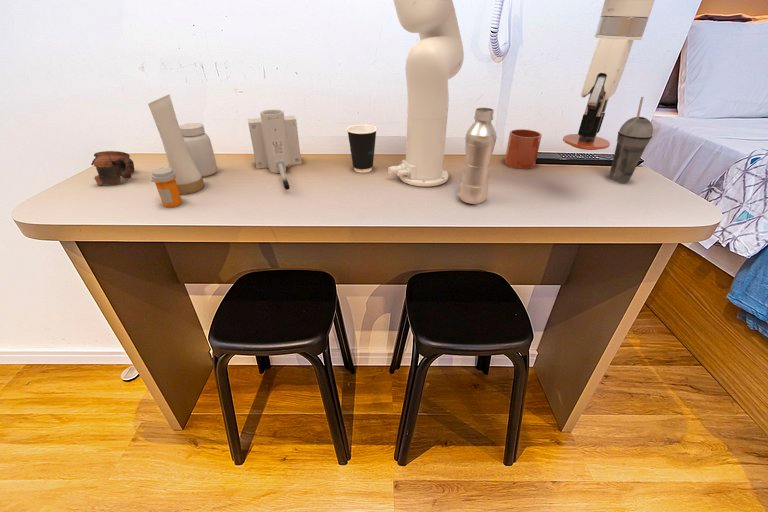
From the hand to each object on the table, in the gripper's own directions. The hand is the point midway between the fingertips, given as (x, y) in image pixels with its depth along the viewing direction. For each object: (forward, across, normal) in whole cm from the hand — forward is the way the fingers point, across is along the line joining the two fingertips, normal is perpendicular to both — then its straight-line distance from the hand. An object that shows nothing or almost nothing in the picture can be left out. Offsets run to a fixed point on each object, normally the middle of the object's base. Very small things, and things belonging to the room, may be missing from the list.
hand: (588, 133), depth 78 cm
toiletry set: (+17, +43, -78) cm, 91 cm away
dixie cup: (+17, +10, -51) cm, 54 cm away
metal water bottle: (+16, +11, -18) cm, 27 cm away
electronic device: (+17, +26, -65) cm, 72 cm away
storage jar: (+16, -20, -18) cm, 31 cm away
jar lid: (+2, 0, 0) cm, 2 cm away
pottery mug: (+18, +51, -97) cm, 111 cm away
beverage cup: (+16, -23, +7) cm, 29 cm away
